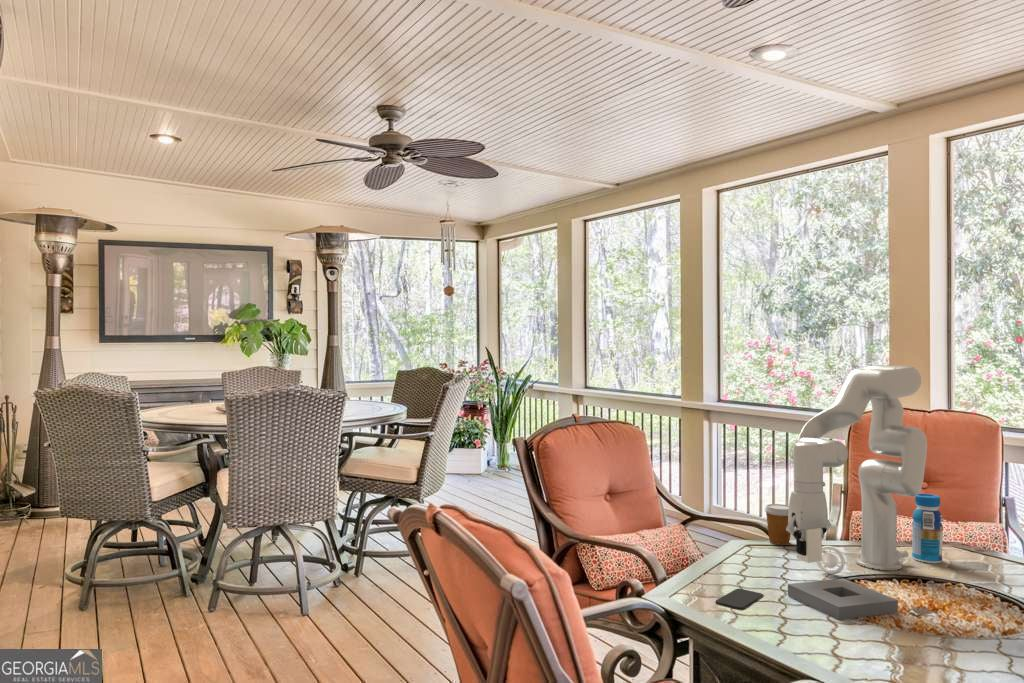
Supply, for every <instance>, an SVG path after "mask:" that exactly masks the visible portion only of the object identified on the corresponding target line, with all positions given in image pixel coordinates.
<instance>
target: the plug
mask: <svg viewBox="0 0 1024 683" xmlns="http://www.w3.org/2000/svg"><path fill="white" fill-rule="evenodd" d="M800 533H801V531H800ZM804 541H806V556H803V555H801V554H798V553H797V552H796V559H798V560H801V561H803V562H806V563H807V564H809V563H816V562H818V561H820V562H822V557H823V555H822V554H823V551H822V547H823V545H822V544H823V543H822V542H823V540H822V541H821V528H815V529H807V530H806V533H805V539H804Z"/></svg>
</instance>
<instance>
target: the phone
mask: <svg viewBox="0 0 1024 683" xmlns="http://www.w3.org/2000/svg"><path fill="white" fill-rule="evenodd" d="M761 598H764V594H763V593H761V592H757V591H753V590H749V589H744V588H735V589H734V590H732V591H730V592H728V593H726V594H725V595H723V596H721V597H719V598H718V599H716V600H715V604H716V605H718V606H723V607H727V608H731V609H733V610H734V609H735V610H739V611H743V610H746V608H748V607H749V606H751V605H753V604H754V603H755V602H757V601H758V600H760V599H761Z"/></svg>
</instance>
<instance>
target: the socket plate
mask: <svg viewBox="0 0 1024 683" xmlns="http://www.w3.org/2000/svg"><path fill="white" fill-rule="evenodd" d="M787 596H788V597H790V598H792V599H794V600H796V601H799V602H800V603H802V604H805V605H806V606H809V607H810V608H811V607H812V608H813V609H816V610H817V611H820V612H821V613H824V614H825V615H828V616H830V617H832V618H834V619H836V620H838V621H839V620H847V619H855V618H863V617H871V616H879V615H887V614H886V613H889V614H896V613H897V614H898V613H899V600H898V599H897V598H893V597H891V596H889V595H886V594H884V593H881V592H878V591H876V590H873V589H871V588H868V587H866V586H863V585H861V584H859V583H856V582H853V581H852V580H848V579H846V578H836V579H835V578H833V579H826V580H825V579H824V580H814V581H805V582H804V581H803V582H795V583H794V582H793V583H787Z"/></svg>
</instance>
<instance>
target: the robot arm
mask: <svg viewBox="0 0 1024 683" xmlns="http://www.w3.org/2000/svg"><path fill="white" fill-rule="evenodd" d="M921 385H922V376H921V373H920V371H919V370H918V369H917V368H916V367H913V366H911V365H910V366H909V365H908V366H907V365H885V364H884V365H882V364H881V365H880V364H879V365H877V364H875V365H867V366H865V367H863V368H856V369H853V370H851V371H849V372H848V374H847V375H846V376H845V379H844V381H843V383H842V385H841V386H840V388H839V390H838V391H837V394H836V396H835V397H834V400H833V401H832V403H831V405H830V406H829V407H826V409H823V410H822V411H820V412H819V413H817V414H816V415H815V416H813V417H811V419H809V420H808V421H806V423H805V424H804V426H803V427H802V428H801V431H800V433H799V434H798V437H797V439H796V440H795V443H794V445H793V452H792V453H793V491H791V493H790V496H789V503H788V506H789V511H788V526H787V527H786V530H787V531H788V532H790V533H791V535H792V536H793V538H794V539H795V542H796V543H795V545H796V548H795V549H796V554H797V553H798V554H801V555H803V556H806V541H804V539H805V533H806V530H807V529H815V528H821V541H822V542H823V539H824V538H825V534H826V533H827V531H828V530H829V529H830V528H831V526H832V523H831V521H830V520H829V518H828V515H829V514H828V503H827V496H826V493H825V492H824V487H826V482H825V481H824V468H839V467H841V466H842V465H844V464H845V463H846V462H847V460H848V459H849V458H848V457H849V450H848V448H847V446H846V445H845V444H844V443H842V442H841V441H838V440H834V439H827V438H822V437H823V436H824V435H827V434H828V433H830V432H832V431H834V430H835V431H836V430H839V429H842V428H846V427H850V426H853V425H854V424H857V423H858V422H860V421H861V419H862V416H863V414H864V412H865V411H866V409H867V406H868V404H869V403H870V404H871V409H872V410H871V420H870V425H869V426H870V427H869V434H868V447H869V450H870V451H871V452H872V453H873V454H877V455H881V456H887V457H894V458H900V459H901V460H902V462H901V461H894V460H887V459H880V458H869V459H865V460H864V461H863V462H862V463H861V464H860V465H859V466H858V467H859V468H858V472H857V473H858V474H857V475H858V481H859V486H860V493H861V496H860V497H861V530H860V532H861V534H860V535H861V539H860V540H861V542H860V543H861V546H860V547H861V548H860V549H861V550H860V552H861V553H860V554H861V555H859V556H858V555H857V556H855V561H854V562H856V564H858V565H859V566H861V565H862V566H861V567H864V566H865V567H864V568H868V569H872V568H874V569H873V570H878V569H880V571H898V569H899V570H901V569H903V563H902V562H901V561H900V559H903V558H908V557H909V552H908V551H907V550H902V551H900V550H898V549H897V538H898V537H897V536H898V535H897V534H898V530H897V526H898V525H897V524H898V522H897V520H898V519H897V516H898V507H897V504H896V502H895V499H894V497H893V495H896V496H897V495H898V496H904V497H915V496H916V495H917V494H920V492H921V490H922V488H923V484H924V478H925V472H926V471H925V469H926V463H927V454H928V453H927V452H928V441H927V436H926V434H925V433H924V431H923V430H922V429H920V428H919V427H917V426H916V427H915V426H911V425H910V426H909V425H903V419H904V406H903V405H902V403H901V400H899V399H901V398H905V397H909V396H912V395H915V393H917V392H918V391H919V390H920V388H921ZM892 494H893V495H892ZM800 531H801V533H800Z"/></svg>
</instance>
